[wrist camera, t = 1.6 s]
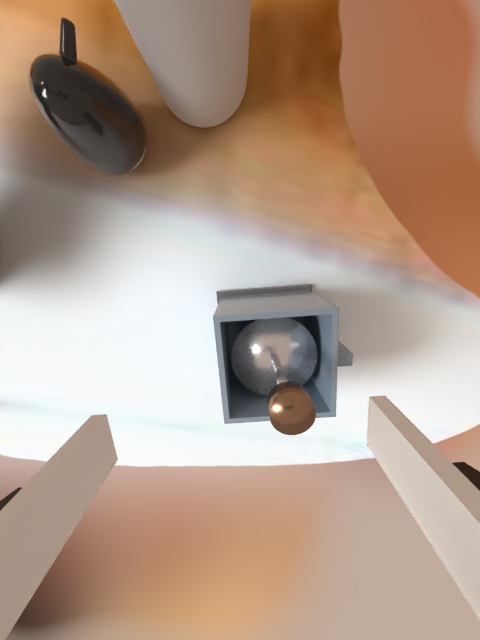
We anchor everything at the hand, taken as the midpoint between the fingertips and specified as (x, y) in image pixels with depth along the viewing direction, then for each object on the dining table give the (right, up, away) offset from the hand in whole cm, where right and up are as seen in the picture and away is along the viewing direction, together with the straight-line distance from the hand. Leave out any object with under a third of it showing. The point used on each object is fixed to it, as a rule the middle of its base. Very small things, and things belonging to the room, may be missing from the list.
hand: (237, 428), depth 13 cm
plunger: (+5, +1, +22) cm, 23 cm away
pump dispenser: (-17, +32, +25) cm, 44 cm away
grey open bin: (+5, +3, +32) cm, 33 cm away
